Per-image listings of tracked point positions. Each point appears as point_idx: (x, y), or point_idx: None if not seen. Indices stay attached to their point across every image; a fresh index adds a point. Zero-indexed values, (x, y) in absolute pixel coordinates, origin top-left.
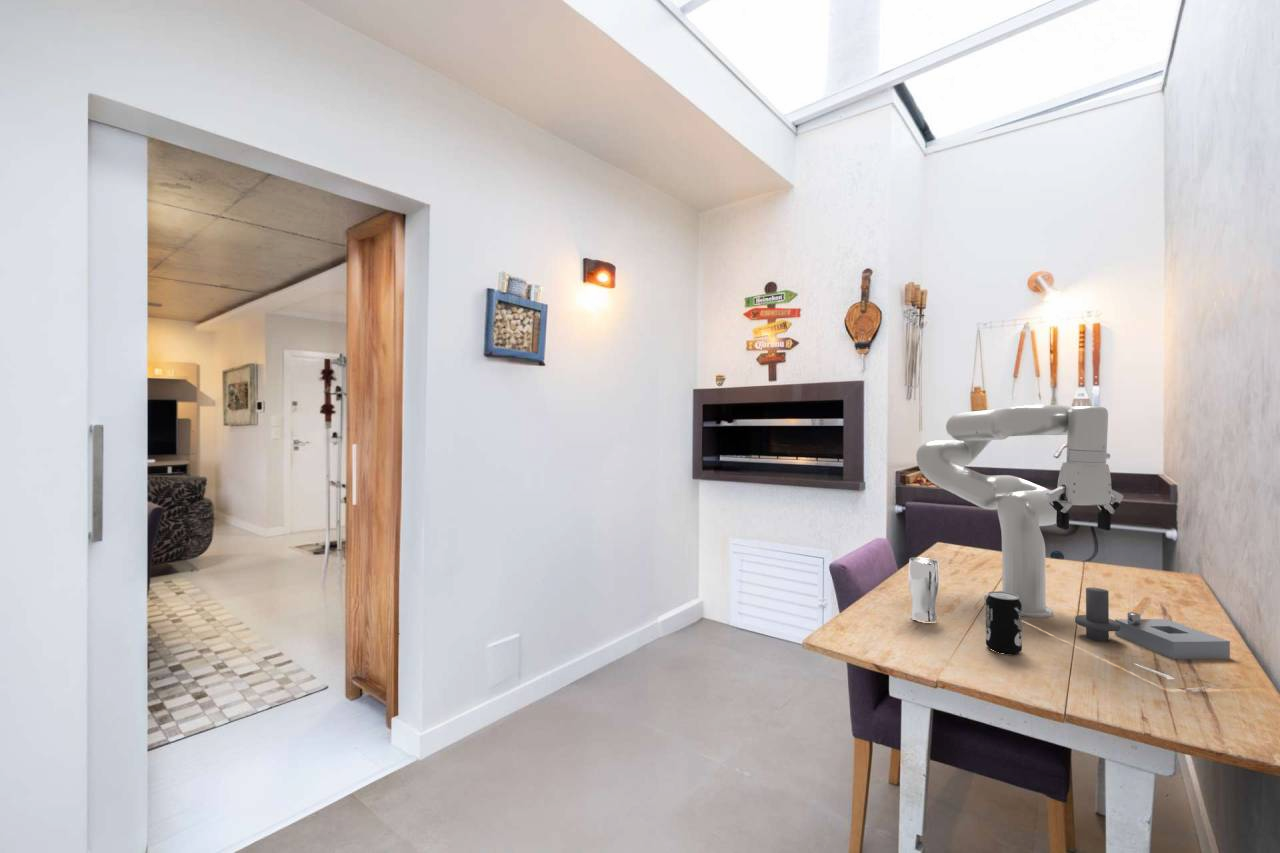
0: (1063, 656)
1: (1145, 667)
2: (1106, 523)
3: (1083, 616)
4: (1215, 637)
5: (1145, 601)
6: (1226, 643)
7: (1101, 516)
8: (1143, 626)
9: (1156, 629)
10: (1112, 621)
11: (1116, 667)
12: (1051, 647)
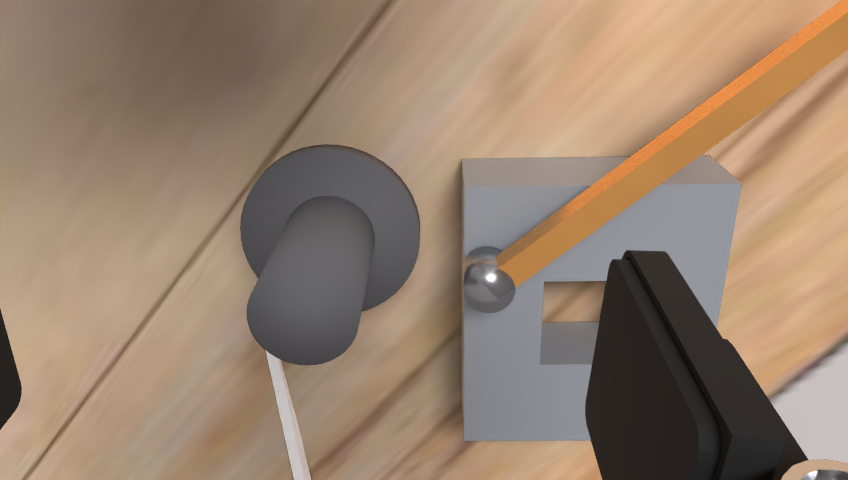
0: (92, 347)
1: (295, 459)
2: (606, 474)
3: (306, 175)
4: None
5: (792, 75)
6: None
7: (658, 455)
8: None
9: (534, 320)
10: (398, 248)
11: (219, 429)
12: (95, 267)
